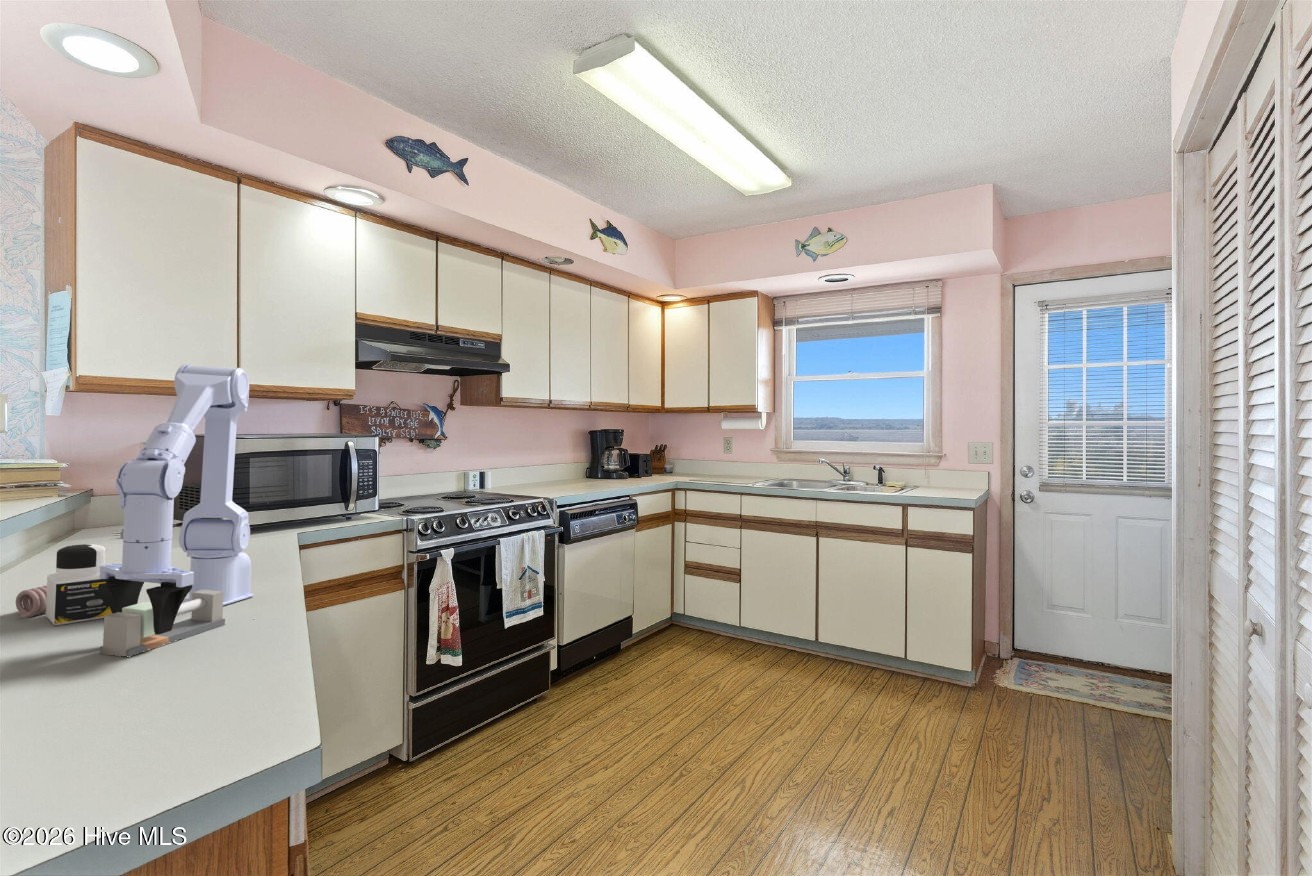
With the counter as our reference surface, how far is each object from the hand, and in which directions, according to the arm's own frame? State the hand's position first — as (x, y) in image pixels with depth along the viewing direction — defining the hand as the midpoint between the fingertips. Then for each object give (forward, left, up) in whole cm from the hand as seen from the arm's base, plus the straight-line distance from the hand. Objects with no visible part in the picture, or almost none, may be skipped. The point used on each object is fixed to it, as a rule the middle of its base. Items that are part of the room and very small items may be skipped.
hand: (144, 630), depth 93 cm
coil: (-14, -30, -3) cm, 33 cm away
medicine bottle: (-8, -22, -3) cm, 23 cm away
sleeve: (0, 0, 0) cm, 0 cm away
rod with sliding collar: (-4, 0, -2) cm, 4 cm away
